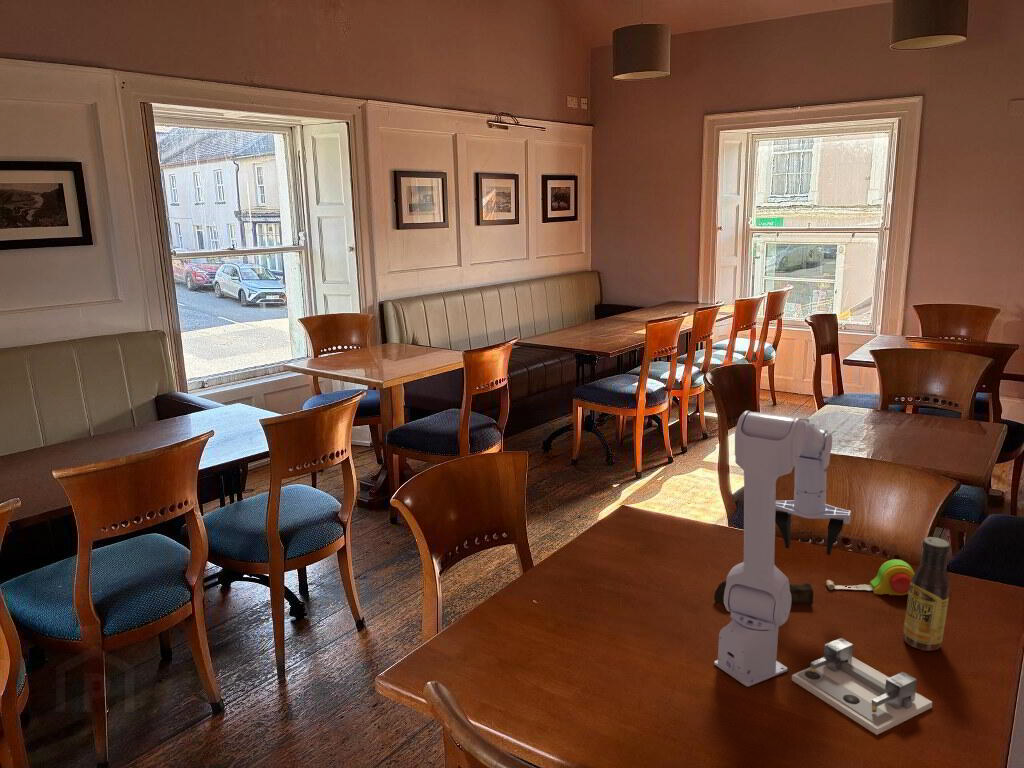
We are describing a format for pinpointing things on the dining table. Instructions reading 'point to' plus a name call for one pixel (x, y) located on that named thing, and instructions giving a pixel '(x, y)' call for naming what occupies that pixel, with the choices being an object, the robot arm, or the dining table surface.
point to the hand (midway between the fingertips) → (808, 549)
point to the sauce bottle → (928, 597)
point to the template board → (859, 694)
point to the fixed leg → (834, 655)
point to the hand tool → (798, 592)
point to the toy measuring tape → (886, 579)
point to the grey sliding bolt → (896, 691)
